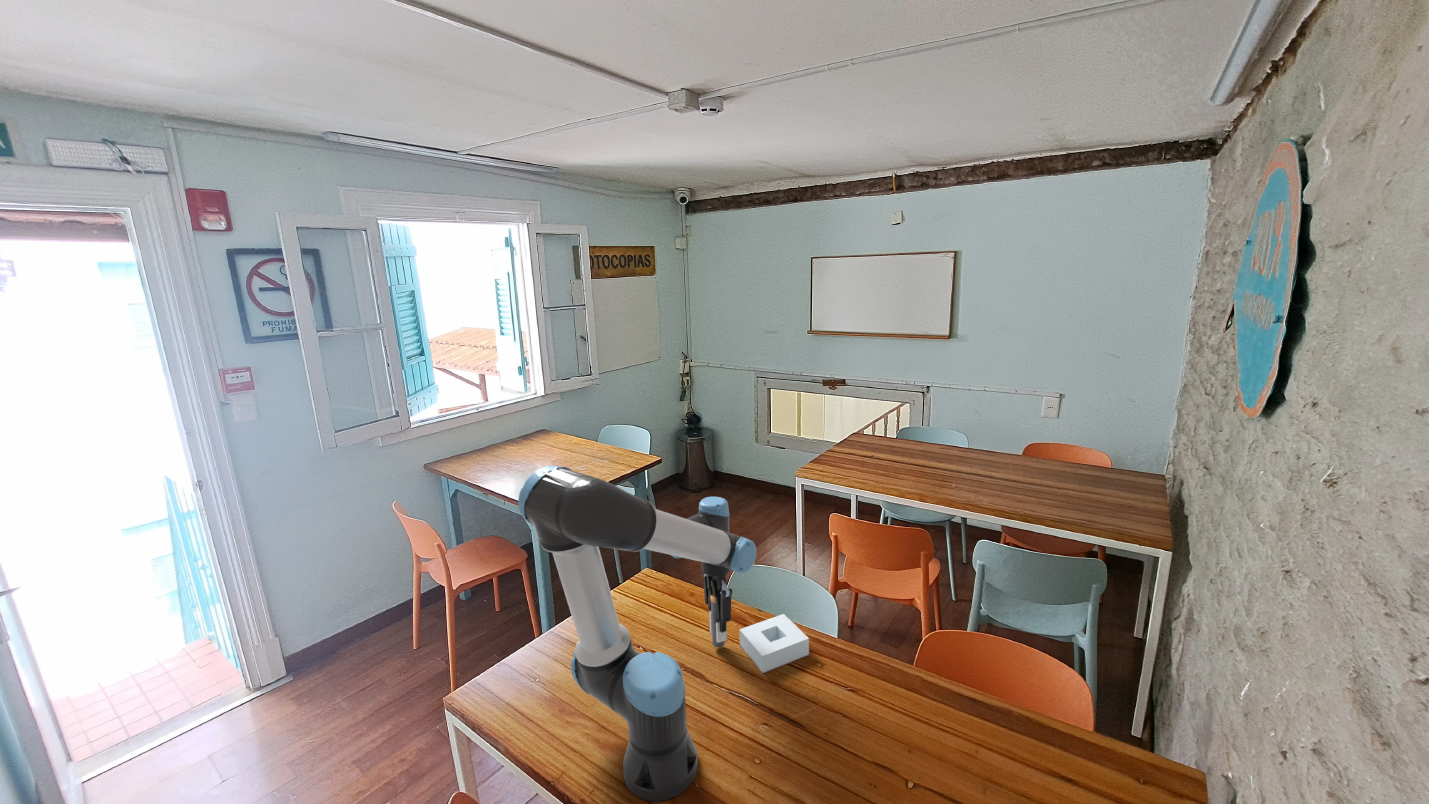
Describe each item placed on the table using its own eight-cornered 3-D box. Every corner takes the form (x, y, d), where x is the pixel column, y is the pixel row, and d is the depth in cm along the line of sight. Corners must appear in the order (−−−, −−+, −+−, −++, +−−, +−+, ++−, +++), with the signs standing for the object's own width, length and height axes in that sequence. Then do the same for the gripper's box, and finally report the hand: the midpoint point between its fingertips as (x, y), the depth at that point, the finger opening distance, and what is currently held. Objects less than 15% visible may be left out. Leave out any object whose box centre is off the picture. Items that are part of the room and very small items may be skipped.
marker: (727, 644, 146) (726, 597, 143) (715, 648, 144) (713, 601, 141) (721, 637, 149) (720, 591, 146) (710, 641, 147) (708, 594, 144)
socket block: (808, 654, 143) (808, 638, 142) (762, 673, 137) (762, 656, 136) (783, 629, 153) (783, 613, 152) (740, 645, 148) (739, 629, 146)
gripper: (743, 566, 135) (745, 649, 140) (714, 539, 150) (717, 616, 155) (716, 574, 132) (719, 659, 137) (689, 546, 147) (693, 623, 152)
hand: (718, 636), depth 146 cm, fingers closed on marker, 3 cm apart
